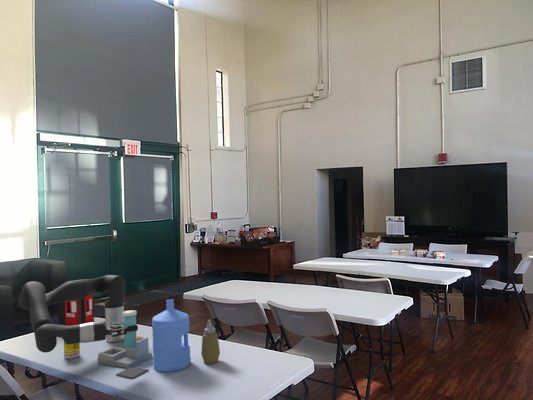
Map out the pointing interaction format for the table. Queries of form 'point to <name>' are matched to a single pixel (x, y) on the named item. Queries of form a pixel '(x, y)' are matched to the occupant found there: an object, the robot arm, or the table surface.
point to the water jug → (170, 339)
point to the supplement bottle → (71, 350)
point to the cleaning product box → (76, 311)
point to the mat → (132, 372)
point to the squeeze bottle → (210, 345)
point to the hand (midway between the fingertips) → (136, 326)
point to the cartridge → (130, 337)
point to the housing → (126, 355)
